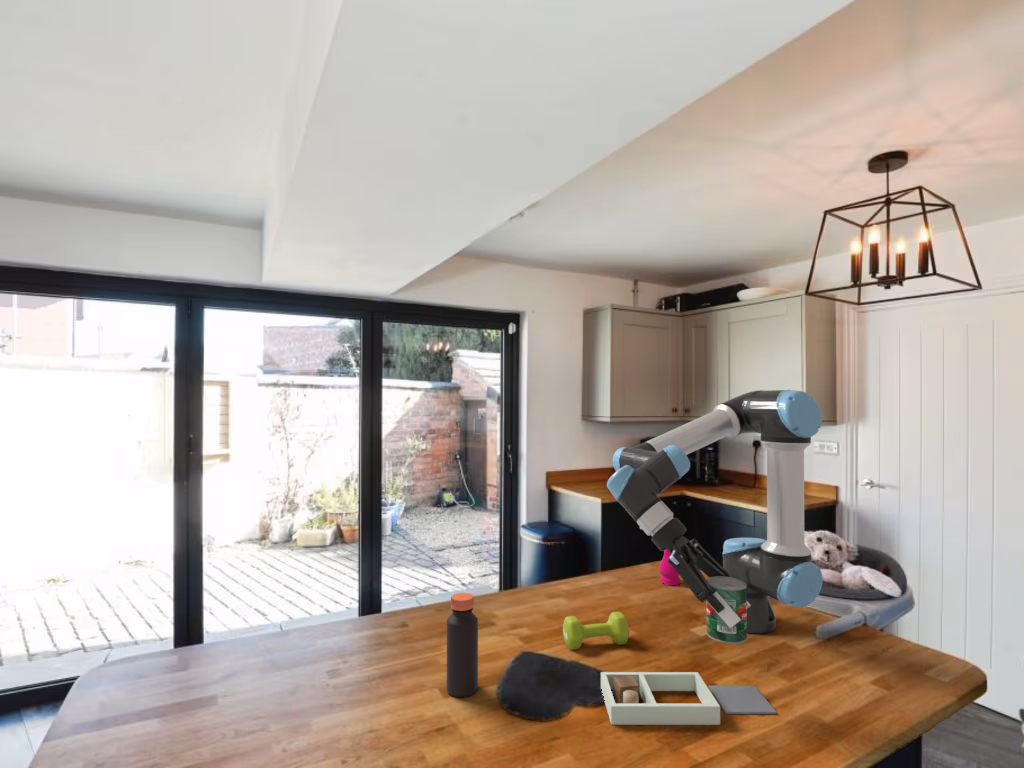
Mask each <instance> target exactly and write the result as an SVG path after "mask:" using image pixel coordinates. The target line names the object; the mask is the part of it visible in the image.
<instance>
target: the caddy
mask: <svg viewBox="0 0 1024 768" xmlns="http://www.w3.org/2000/svg"><path fill="white" fill-rule="evenodd" d="M622 676H632V677H633V679H634V680H635V681H636V683H637V684H638V685H639V695H640V697H641V700H642V703H617V702H616V699H615V698H614V696H613V691H611V689H613V677H622ZM601 689H602V691H601V694H602V693H603V694H602V697H603V696H604V698H603V701H604V700H605V701H604V704H605V708H606V711H607V714H608V718H609V722H610V724H611V726H612V725H614V726H615V725H616V726H617V725H620V726H621V725H626V726H627V725H628V726H630V725H631V726H635V725H637V726H640V725H641V726H642V725H644V726H645V725H646V726H648V725H649V726H651V725H653V726H655V725H656V726H657V725H658V726H664V725H666V726H671V725H672V726H673V725H675V726H678V725H681V726H683V725H684V726H685V725H686V726H687V725H689V726H690V725H691V726H693V725H694V726H696V725H697V726H699V725H700V726H703V725H705V726H709V725H710V726H711V725H713V726H714V725H715V726H719V725H721V705H720V704H719V702H718V701H717V699H716V698H715V696H714V695H713V693H712V692H711V690H710V689H709V687H708V686H707V684H706V683H705V681H704V680H703V678H702V676H701V675H700V674H699V672H698V671H697V672H696V671H694V672H693V671H688V672H687V671H685V672H684V671H681V672H680V671H673V672H671V671H662V672H661V671H655V672H653V671H650V672H649V671H636V672H635V671H630V672H629V671H601V672H600V690H601ZM653 692H695V694H696V696H697V697H698V699H699V701H700V702H701V703H696V702H695V703H694V702H693V703H683V702H682V703H681V702H680V703H678V702H677V703H675V702H674V703H672V702H671V703H667V702H666V703H664V702H663V703H658V702H657V701H656V699H655V696H654V695H653Z"/></svg>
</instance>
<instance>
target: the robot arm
mask: <svg viewBox="0 0 1024 768" xmlns="http://www.w3.org/2000/svg"><path fill="white" fill-rule="evenodd" d="M822 423H823V417H822V410H821V407H820V404H819V403H818V401H817V400H816V399H814V397H813V396H812V394H810V393H808V392H806V391H802V390H794V389H793V390H792V389H783V390H780V389H779V390H778V389H777V390H761V389H760V390H753V391H750V392H749V391H748V392H746V393H743V394H740V395H738V396H736V397H733V398H731V399H729V400H727V401H724V402H721V403H719V404H718V405H716V406H715V407H714V408H713V410H712V411H711V412H708V413H707V414H704V415H703V416H700V417H698V418H696V419H693V420H692V421H689V422H686V423H683V424H682V425H680V426H678V427H676V428H674V429H671V430H668V431H666V432H665V433H663V434H660V435H658V436H655V437H654V438H650V439H649V440H647V441H644V442H642V443H639V444H638V445H635V446H622V447H620V448H618V449H616V451H615V452H614V454H613V456H612V466H613V469H614V470H615V472H614V473H613V474H612V475H611V476H610V477H609V479H607V482H606V487H607V489H608V490H609V492H610V494H612V496H613V497H614V499H615V500H616V502H618V503H619V505H621V506H622V508H624V510H625V511H626V512H627V514H629V516H631V518H632V519H633V520H634V522H635V523H637V525H638V526H639V529H640V530H642V531H643V532H644V533H645V535H647V536H650V537H651V539H650V540H651V542H652V543H653V544H654V545H655V546H656V547H657V548H658V550H659V551H660V552H664V550H666V549H668V551H669V552H670V554H671V556H670V557H669V558H668V559H667V561H668V562H669V563H670V564H671V565H672V566H673V567H674V568H675V569H676V571H677V572H678V573H679V577H681V579H682V580H683V582H684V583H685V584H686V585H687V587H688V589H690V591H691V592H692V593H693V595H694V596H695V597H696V599H697V601H700V602H701V603H704V602H706V601H707V602H708V603H709V604H710V605H711V607H712V608H713V609H714V610H715V611H716V612H717V614H718V615H719V616H720V617H721V618H722V619H723V621H724V622H725V623H726V624H727V625H728V626H729V628H731V627H732V626H734V625H735V624H736V623H738V622H739V621H740V620H741V619H740V618H739V617H738V615H737V614H736V613H735V612H734V611H733V610H732V609H731V607H730V606H729V605H728V604H727V603H726V602H725V601H724V599H723V598H722V597H721V596H720V595H719V594H718V593H717V591H716V592H715V593H714V592H713V590H712V588H711V587H710V585H709V584H708V582H707V580H706V579H707V578H710V577H715V576H724V577H732V578H736V579H739V580H742V581H743V582H745V583H746V585H747V587H746V594H747V595H746V598H747V599H746V601H747V634H748V633H750V634H765V633H766V634H767V633H770V632H773V631H775V629H776V628H777V619H776V614H775V612H774V608H773V606H772V602H771V600H770V598H771V599H773V600H776V601H778V602H780V603H781V604H784V605H788V606H792V607H795V608H804V607H807V606H809V605H811V604H812V603H813V602H814V601H815V599H816V598H817V597H818V596H819V594H820V592H821V590H822V587H823V581H824V580H823V574H822V571H821V570H820V567H819V566H818V565H816V564H815V563H814V562H812V551H811V549H810V548H809V547H808V546H806V544H805V450H806V448H807V447H809V446H810V445H811V444H812V437H813V436H815V435H817V433H818V432H819V429H821V426H822ZM751 433H752V434H754V433H756V434H757V433H758V434H760V442H761V444H763V446H764V447H765V448H766V473H767V474H766V499H767V500H766V510H767V511H766V512H767V513H766V517H767V518H766V519H767V520H766V535H767V536H766V539H764V538H761V537H760V538H759V537H758V538H757V537H732V538H729V539H726V540H725V541H724V542H723V546H722V549H723V551H722V565H721V564H720V563H719V562H718V561H717V560H715V558H714V557H713V556H712V555H711V554H710V553H709V552H708V551H707V550H706V549H705V548H704V547H703V546H702V545H701V543H699V541H698V540H697V539H696V538H692V539H691V540H690V539H688V538H687V537H686V536H685V533H687V528H686V526H685V525H684V524H683V522H681V520H679V518H678V517H674V512H673V511H671V509H670V508H669V507H668V506H667V505H666V504H665V503H664V502H663V501H662V499H661V498H660V497H659V495H660V494H661V493H662V492H663V491H665V490H666V489H668V488H669V487H670V486H672V485H673V484H674V483H676V482H677V481H678V480H681V479H682V477H683V476H684V475H685V474H687V473H688V472H689V471H690V469H691V462H690V459H689V457H688V455H689V454H691V453H694V452H695V451H696V452H697V451H698V450H700V449H703V448H705V447H706V446H709V445H710V444H713V443H715V442H717V441H719V440H721V439H723V438H724V439H725V438H726V437H727V438H734V437H737V436H739V435H743V434H751ZM703 573H704V574H705V576H707V578H706V577H705V576H704V574H703Z"/></svg>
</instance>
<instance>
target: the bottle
mask: <svg viewBox="0 0 1024 768" xmlns="http://www.w3.org/2000/svg"><path fill="white" fill-rule="evenodd" d="M474 600H475V598H474V595H473V594H472V593H470V592H457V593H454V594H453V595H451V597H450V607H451V608H450V609H451V610H450V611H452V613H451V614H450V615H449V617H447V619H446V691H447V693H448V694H449V695H451V696H452V697H455V698H467V697H470V696H472V695H474V694H475V693H476V692H477V691H478V687H479V620H478V617H477V615H475V613H474V612H473V610H474V607H475V606H474V603H475V602H474Z"/></svg>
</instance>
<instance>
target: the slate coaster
mask: <svg viewBox="0 0 1024 768" xmlns="http://www.w3.org/2000/svg"><path fill="white" fill-rule="evenodd" d="M707 687H708V689H709V690H710V692H711V693H712V695H713V696H714V698H715V699H716V701H717V702H718V704H719V705H720V708H721V709H722V710H723V712H724V713H725V714H726V715H777V714H778V713H777V711H776V710H775V708H774V707H773V706H772V705H771V704H770V702H769V701H768V700H767V698H766V697H765V696H764V695H763V694H762V693H761V691H760V690H759V689H758V688H757V687H756V685H755V684H754V685H750V684H749V685H748V684H747V685H746V684H745V685H742V684H741V685H732V684H730V685H727V684H726V685H725V684H723V685H722V684H721V685H719V684H718V685H714V684H713V685H712V684H711V685H710V684H709V685H708V686H707Z"/></svg>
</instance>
